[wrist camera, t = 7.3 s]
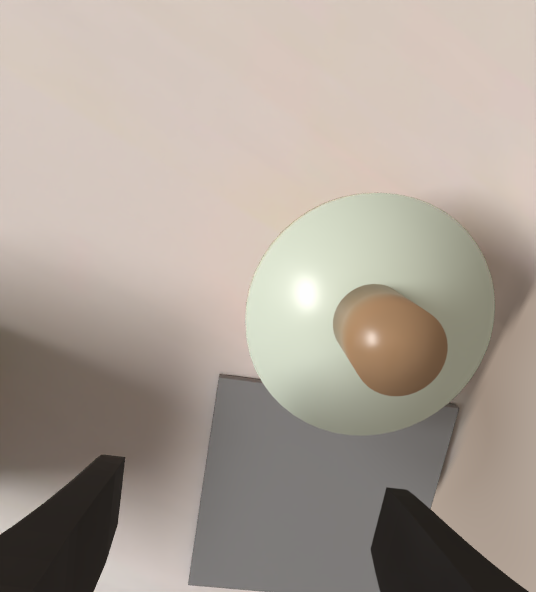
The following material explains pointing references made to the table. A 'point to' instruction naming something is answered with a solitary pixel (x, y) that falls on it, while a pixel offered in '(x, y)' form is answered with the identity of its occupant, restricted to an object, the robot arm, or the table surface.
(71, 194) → the table surface
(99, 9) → the table surface
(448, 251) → the lid
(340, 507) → the mat
